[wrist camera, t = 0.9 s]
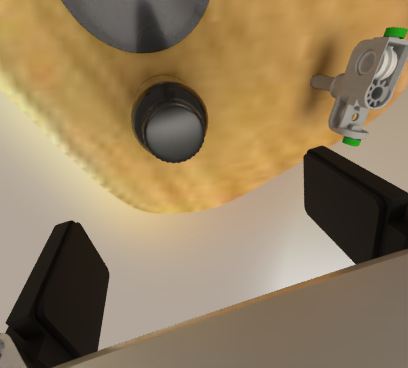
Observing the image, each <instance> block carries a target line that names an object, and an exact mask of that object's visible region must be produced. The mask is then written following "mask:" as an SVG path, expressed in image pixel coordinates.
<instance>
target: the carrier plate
mask: <svg viewBox="0 0 408 368" xmlns="http://www.w3.org/2000/svg"><path fill="white" fill-rule="evenodd" d="M62 2H63V3H64V5H65V6H66V8H67V9H68V10H69V12H70V13H71V14H72V15H73V16H74V18H75V19H76V20H77V21H78V22H79V23H80V24H81V25H82V26H83V27H84V28H85V29H87V30H88V31H89V32H90V33H91V34H93V35H94V36H95V37H97V38H98V39H100V40H101V41H103V42H105V43H107V44H109V45H111V46H113V47H116V48H118V49H121V50H125V51H129V52H136V53H151V52H156V51H161V50H164V49H167V48H169V47H171V46H173V45H175V44H177V43H178V42H180V41H181V40H182V39H184V38H185V37H186V36H187V35H188V34H189V33H190V32H191V31H192V30H193V29H194V27H195V26H196V25H197V24H198V22H199V21H200V19H201V17H202V16H203V14H204V12H205V10H206V7H207V5H208V3H209V0H62Z"/></svg>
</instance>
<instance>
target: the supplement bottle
mask: <svg viewBox="0 0 408 368" xmlns="http://www.w3.org/2000/svg"><path fill="white" fill-rule="evenodd" d="M131 123H132V129H133V132H134V135H135V137H136V139H137V141H138V142H139V143H140V145H141V146H142V147H143V148H144V149H145V150H147V151H148V152H149V153H151V154H152V155H154V156H156V158H158V159H161V160H162V161H166V162H172V163H176V162H177V163H180V162H182V161H186V160H187V159H190V158H191V157H192V156H195V154H196V153H197V152H199V149H200V148H201V147H202V143H203V142H204V137H205V135H206V132H207V129H208V113H207V109H206V106H205V104H204V102H203V100H202V99H201V97H200V96H199V95H198V94H197V93H196V92H195V91H194V90H193V89H192V88H191V87H189V86H188V85H187V84H185V83H184V82H183V81H181V80H180V79H178V78H176V77H173V76H170V75H158V76H154V77H152V78H150V79H148V80H147V81H145V82H144V83H143V84H142V85H141V87H140V88H139V90H138V92H137V94H136V97H135V101H134V105H133V109H132V114H131Z"/></svg>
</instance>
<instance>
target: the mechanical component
mask: <svg viewBox="0 0 408 368" xmlns="http://www.w3.org/2000/svg"><path fill="white" fill-rule="evenodd" d="M407 31H408V29H405V28H395V27H391V28H386V31H385V33H384V36H383V37H377V38H373V39H372V40H363V41H361V42H360V43H358V44H357V46H356V47H355V48H354V50H353V52H352V54H351V57H350V60H349V63H348V66H347V68H346V71H345V73H342V74H339V75H338V76H336V77H328V76H325V75H315V76H313V77H312V79H311V82H310V84H311V86H312V87H314V88H317V89H321V90H326V91H330V94H331V95H332V97H334V98H336V100H335V103H334V105H333V108H332V111H331V114H330V117H329V128H330V129H331V130H332V131H334V132H336V133H338V134H341V135H343V136H344V138H343V141H342V142H343V143H345V144H348V145H351V146H359V144H360V141H361V139H366V137H367V135H368V132H367V131H364V130H362V127H363V124H364V122H365V120H366V117H367V115H368V112H369V110H370V109H376V110H378V109H381V108H382V107H384V106H385V105H386V104H387V103H388V102H389V101H390V99H391V98H392V95H393V93H394V88H395V86H396V83H397V81H398V79H399V77H400V74H401V72H402V70H403V68H404V65H405V63H406V61H407V59H408V40H403V39H404V38H405V35H406V33H407ZM397 59H398V62H397ZM396 63H397V66H396ZM395 66H396V68H395ZM394 68H395V70H394ZM393 70H394V71H393ZM392 72H393V73H392ZM391 73H392V74H391ZM390 74H391V75H390ZM389 75H390V76H389ZM355 113H357V117H356V119H355V120H353V121H352V119H353V117H354V114H355Z"/></svg>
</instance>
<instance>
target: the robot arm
mask: <svg viewBox="0 0 408 368" xmlns="http://www.w3.org/2000/svg"><path fill="white" fill-rule="evenodd" d="M304 204H305V205H304V206H305V210H306V212H307V214H308V215H309V216H310V217H311V218H312V219H313V220H314V221H315V222H316V223H317V225H318V226H319V227H320V228H321V229H322V230H323V231H325V233H326V234H327V235H328V236H329V237H330V238H331V239H332V240H333V241H334V242H335V243H336V244H337V245H338V246H339V247H340V248H341V249H342V250H343V251H344V252H345V253H346V255H347V256H348V257H349V258H350V259H352V261H353V262H354V263H355V264H356V265H354V266H350V267H348V268H344V269H341V270H338V271H335V272H332V273H329V274H326V275H323V276H320V277H317V278H314V279H311V280H308V281H304V282H301V283H298V284H295V285H292V286H289V287H286V288H283V289H280V290H277V291H274V292H271V293H268V294H265V295H262V296H259V297H256V298H253V299H250V300H247V301H244V302H241V303H238V304H235V305H232V306H229V307H226V308H223V309H220V310H217V311H214V312H211V313H208V314H206V315H202V316H199V317H196V318H193V319H190V320H187V321H184V322H181V323H178V324H175V325H173V326H170V327H167V328H164V329H161V330H158V331H155V332H152V333H149V334H146V335H143V336H140V337H137V338H134V339H131V340H128V341H125V342H122V343H119V344H117V345H114V346H111V347H108V348H105V349H102V350H99V351H98V345H99V338H100V332H101V326H102V320H103V313H104V307H105V301H106V294H107V288H108V282H109V271H108V268H107V266H106V265H105V263H104V262H103V260H102V258H101V257H100V255H99V253H98V252H97V250H96V248H95V247H94V245H93V244H92V242H91V240H90V239H89V237H88V235H87V234H86V232H85V230H84V229H83V227H82V226H81V224H80V223H78V222H77V223H75V222H74V221H68V222H64V223H61V224H58V225H56V226H55V227H54V229H53V231H52V233H51V235H50V237H49V239H48V241H47V243H46V245H45V247H44V248H43V250H42V252H41V254H40V257H39V259H38V261H37V262H36V264H35V266H34V268H33V270H32V272H31V274H30V276H29V278H28V280H27V282H26V284H25V286H24V288H23V290H22V292H21V294H20V296H19V298H18V300H17V301H16V303H15V305H14V307H13V310H12V312H11V313H10V315H9V317H8V319H7V321H6V324H7V325H8V326H9V327H8V329H7V331H6V333H5V334H3V333H0V368H408V193H407V192H405V191H404V190H402V189H400V188H398V187H396V186H395V185H393V184H391V183H389V182H387V181H386V180H384V179H382V178H380V177H378V176H377V175H375V174H373V173H371V172H370V171H368V170H366V169H364V168H362V167H360V166H359V165H357V164H355V163H353V162H351V161H350V160H348V159H346V158H344V157H343V156H341V155H339V154H337V153H336V152H334V151H332V150H330V149H328V148H327V147H325V146H319V147H316V148H313V149H309V150H308V151H307V154H305V155H304Z"/></svg>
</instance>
